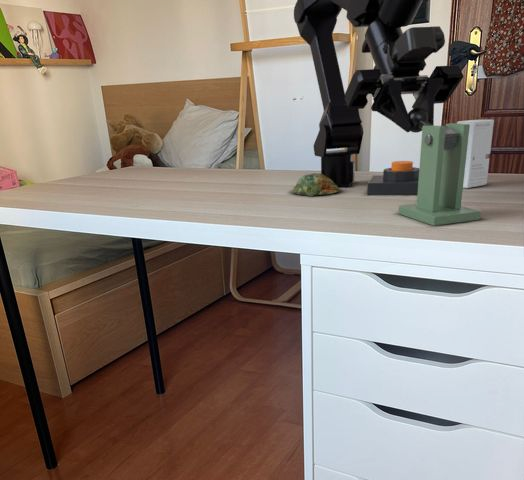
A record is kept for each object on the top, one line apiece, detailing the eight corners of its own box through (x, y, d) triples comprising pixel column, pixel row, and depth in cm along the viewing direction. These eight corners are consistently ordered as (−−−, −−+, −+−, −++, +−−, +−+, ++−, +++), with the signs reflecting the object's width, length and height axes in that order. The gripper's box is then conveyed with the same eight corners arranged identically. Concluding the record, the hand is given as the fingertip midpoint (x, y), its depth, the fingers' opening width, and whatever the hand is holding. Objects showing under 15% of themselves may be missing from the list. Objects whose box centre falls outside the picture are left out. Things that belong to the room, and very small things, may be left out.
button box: (367, 194, 103) (368, 173, 101) (372, 186, 111) (373, 166, 109) (431, 194, 99) (433, 172, 98) (432, 185, 108) (433, 165, 106)
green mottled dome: (343, 166, 109) (331, 174, 101) (344, 187, 111) (333, 196, 102) (296, 171, 113) (282, 178, 104) (298, 191, 114) (284, 200, 106)
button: (390, 173, 102) (391, 163, 102) (391, 170, 106) (392, 161, 105) (411, 172, 101) (412, 163, 101) (412, 169, 105) (413, 160, 104)
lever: (398, 128, 85) (403, 105, 83) (418, 127, 86) (423, 104, 84) (436, 154, 77) (442, 129, 75) (457, 152, 78) (464, 127, 76)
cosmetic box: (468, 188, 103) (475, 121, 97) (449, 186, 106) (455, 121, 101) (488, 184, 106) (496, 119, 100) (469, 182, 109) (476, 118, 104)
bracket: (398, 213, 86) (403, 125, 80) (440, 208, 88) (448, 122, 82) (433, 225, 77) (442, 128, 72) (479, 219, 79) (492, 124, 74)
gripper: (355, 8, 77) (388, 93, 73) (464, 6, 82) (501, 86, 78) (332, 69, 88) (359, 147, 83) (430, 64, 92) (460, 138, 88)
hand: (420, 129), depth 83 cm, fingers closed on lever, 3 cm apart
